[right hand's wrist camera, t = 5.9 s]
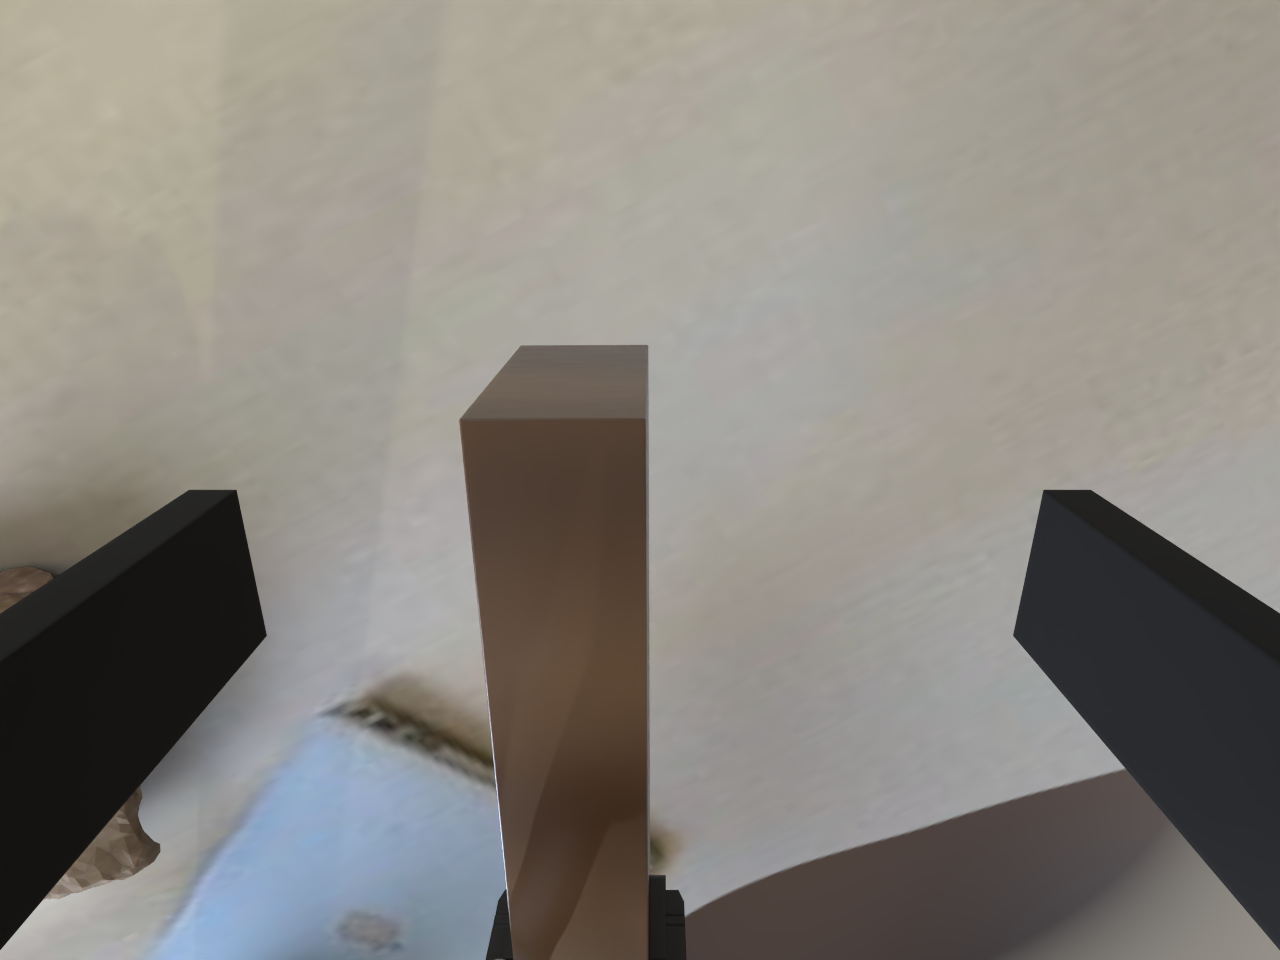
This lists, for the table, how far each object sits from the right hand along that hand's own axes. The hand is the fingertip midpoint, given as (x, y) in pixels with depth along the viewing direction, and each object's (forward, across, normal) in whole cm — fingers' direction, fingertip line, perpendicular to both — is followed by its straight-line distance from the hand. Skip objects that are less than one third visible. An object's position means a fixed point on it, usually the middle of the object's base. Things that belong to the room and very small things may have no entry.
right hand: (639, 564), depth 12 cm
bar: (+15, -2, -12) cm, 19 cm away
